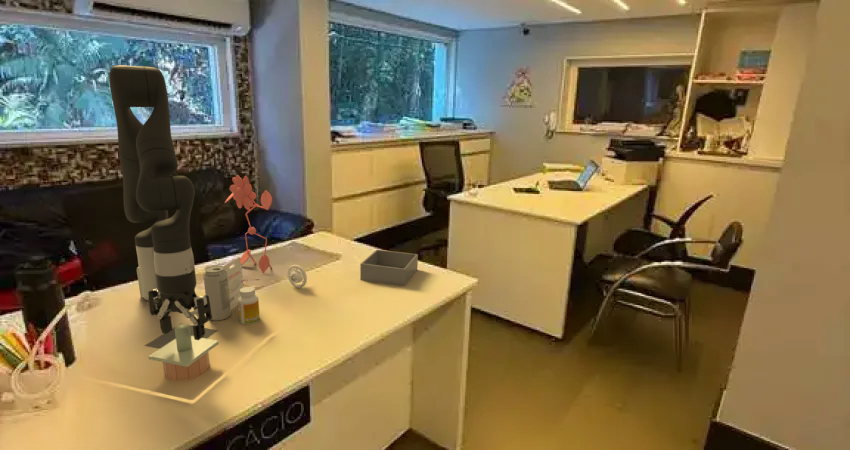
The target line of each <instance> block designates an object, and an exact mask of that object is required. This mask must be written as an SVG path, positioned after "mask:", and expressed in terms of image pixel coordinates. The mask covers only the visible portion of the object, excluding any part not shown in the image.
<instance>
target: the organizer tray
mask: <svg viewBox="0 0 850 450" xmlns="http://www.w3.org/2000/svg"><path fill="white" fill-rule="evenodd" d="M418 259H419V254H417V253H409V252H401V251H393V250H392V251H391V250H385V249H376V250H375V251H373V252H372V253H371V254H370V255H369V256H367V258H365V259H364V260H363V261H362V262H361V263H360V265H359V266H360V268H359V269H360V273H359V275H360V278H359V279H360V281H365V282H373V283H382V284H388V285H395V286H404V287H405V286H406V285H407V283H408V282H409V281H411V279H412V277H413V276H414V275H415V273H417V271H418V261H419V260H418Z"/></svg>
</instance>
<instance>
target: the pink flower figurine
mask: <svg viewBox="0 0 850 450" xmlns="http://www.w3.org/2000/svg"><path fill="white" fill-rule="evenodd" d="M232 183H233V184H231V185H230V186H229V191H230V192H231V194H230V195H228V197H227V198H226V200H225V201H224V204H226V203H227V202H229V201H230V200H231V199H232V198H233V200H234V201H235V203H236V206H237V208H238V209H242V208H243V207H244V209H246V210H247V211H246V212H245V214H244V215H245V217H246V220H247V222H248V226H249V227H248V229H247V232H246V233H245V234H244V235H245V237H244V238H245V243H246V244H245V245H246V251H244V252H243V254H242V255H241V256H240V261H241V266H243V265H244V264H245V263H246V262H247V261H248V260H249V258H250V259H251V261H253V263H254V264H257V262H256V260H255V259H254V257H253V256H252V255H251V252H252V250H251V249H249V247H248V246H249V245H248V239H247V234H250V235H256V236H258V237H260V238H262V239H264V240H265V245H264V246H265V247H264V253H263V254H262V255H261V256H260V259H259V261H258V267H259V269H260V271H261V273H262V274H264V273H266V271H267V269H268V268H269V269H270V270H272V269H273V267H272V266H271V264H270V258H269V256H268V255H267V254H266V253H267V244H268V239H267V237H265V236H262V235H261V234H258V233H256V232H257V229H256V228H255V227H254V226H251V223H250V220H249V219H250V218H249V216H248V214H249V213H250V212H251V211H252V210H254V209H255V208H256V207H258V208H261V209H263V210H266V211H269V210H270V207H271V206H272V203H273V196H272V195H271V193H270V192H269V191H268V190H264V192H263V193H262V194H261V197H260V203H261V205H259V204H258V203H256V201H255V199H256V198H257V193H255V192H254V191H252V190H253V189H252V188H253V186H252V184H251V183H250V179H249V177H248V176H247V175H244V176H243V178H242V177H240V175H238V174H237V175H236V176H234V177H232ZM259 280H260V279H259V278H258V279H256V281H259ZM246 281H247V279H243V282H246Z"/></svg>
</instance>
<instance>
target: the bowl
mask: <svg viewBox="0 0 850 450" xmlns="http://www.w3.org/2000/svg"><path fill="white" fill-rule="evenodd" d="M162 366H163V373H164V376H165V377H166V378H167V379H168V380H173V381H185V380H191V379H194V378H196V377H198V376H201V375H202V374H203V373H206V371H207V370H208V369H209V367H210V355H209V351H208V352H207V353H206V354H204V355H203V356H202V357H200V358H199V359H198V360H196V361H195V362H194V363H192V364H191V365H190V366H188V367H185V366H180V365H175V364H170V363H166V362H162Z"/></svg>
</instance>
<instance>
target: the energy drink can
mask: <svg viewBox="0 0 850 450" xmlns="http://www.w3.org/2000/svg"><path fill="white" fill-rule="evenodd" d="M203 282H204V283H203V285H204V293H205V294H204V295H208V296H209V301H210V308H211V314H212V319H211V320H212V321H215V322H216V321H217V322H218V321H223V320H226V319H228V318H229V317H230V316H231V314H232V310H231V308H230V297H229V287H228V276H227V272H226V271H225V269H224V265H212V266H208V267H206V268H205V269H204V274H203ZM211 320H210V321H211Z"/></svg>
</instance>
